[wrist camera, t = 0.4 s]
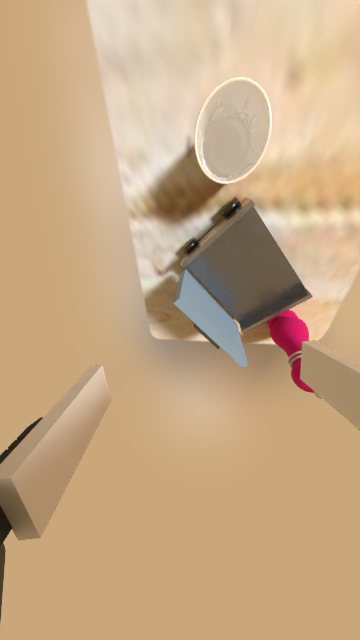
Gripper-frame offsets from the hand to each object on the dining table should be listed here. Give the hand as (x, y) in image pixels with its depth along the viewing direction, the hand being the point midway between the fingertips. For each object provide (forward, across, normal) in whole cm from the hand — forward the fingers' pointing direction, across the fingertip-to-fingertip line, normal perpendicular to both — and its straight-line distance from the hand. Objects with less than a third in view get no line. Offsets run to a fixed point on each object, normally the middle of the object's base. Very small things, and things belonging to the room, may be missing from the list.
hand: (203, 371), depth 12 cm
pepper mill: (+31, +23, -7) cm, 39 cm away
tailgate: (+27, +5, 0) cm, 27 cm away
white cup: (+22, +8, +23) cm, 33 cm away
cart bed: (+28, +12, +6) cm, 31 cm away
